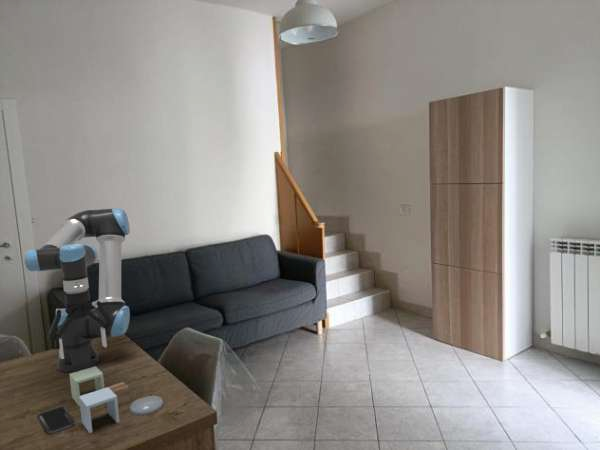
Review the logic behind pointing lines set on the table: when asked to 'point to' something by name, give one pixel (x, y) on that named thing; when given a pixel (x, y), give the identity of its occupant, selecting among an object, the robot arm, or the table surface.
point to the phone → (56, 420)
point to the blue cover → (97, 399)
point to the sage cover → (85, 376)
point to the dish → (146, 405)
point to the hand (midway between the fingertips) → (83, 351)
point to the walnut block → (121, 392)
